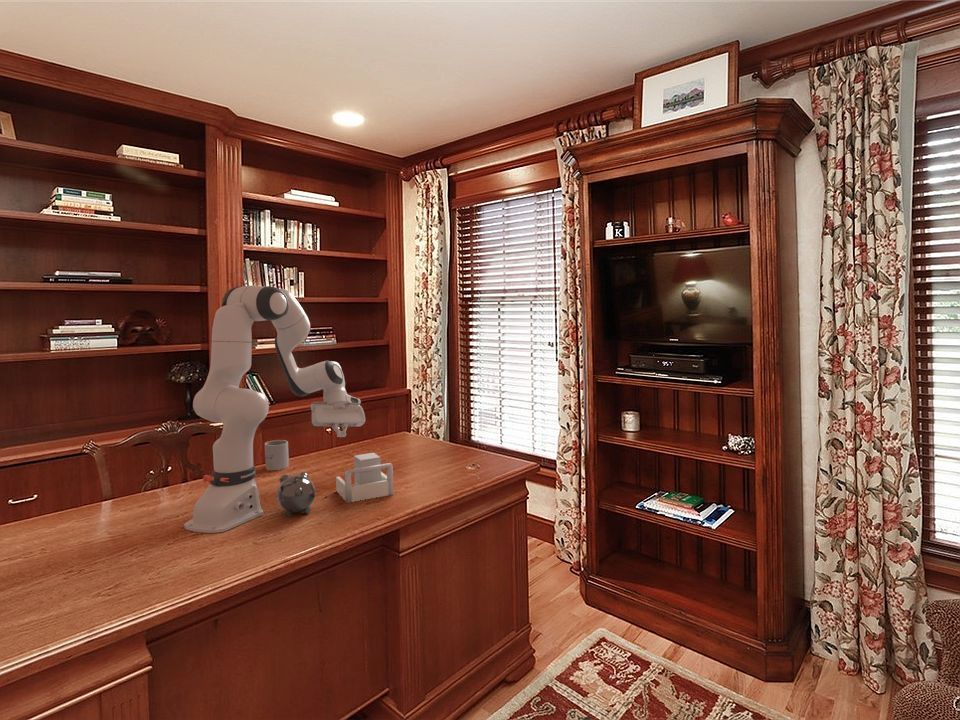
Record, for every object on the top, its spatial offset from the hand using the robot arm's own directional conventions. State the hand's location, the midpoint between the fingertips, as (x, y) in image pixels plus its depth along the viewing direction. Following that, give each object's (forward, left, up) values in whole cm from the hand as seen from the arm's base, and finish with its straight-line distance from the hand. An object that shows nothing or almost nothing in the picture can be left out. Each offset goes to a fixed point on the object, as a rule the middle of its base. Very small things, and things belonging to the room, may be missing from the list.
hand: (341, 436), depth 195 cm
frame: (-12, -14, -16) cm, 24 cm away
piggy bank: (-33, -2, -16) cm, 37 cm away
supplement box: (-11, -16, -16) cm, 25 cm away
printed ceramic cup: (+7, +34, -16) cm, 38 cm away
